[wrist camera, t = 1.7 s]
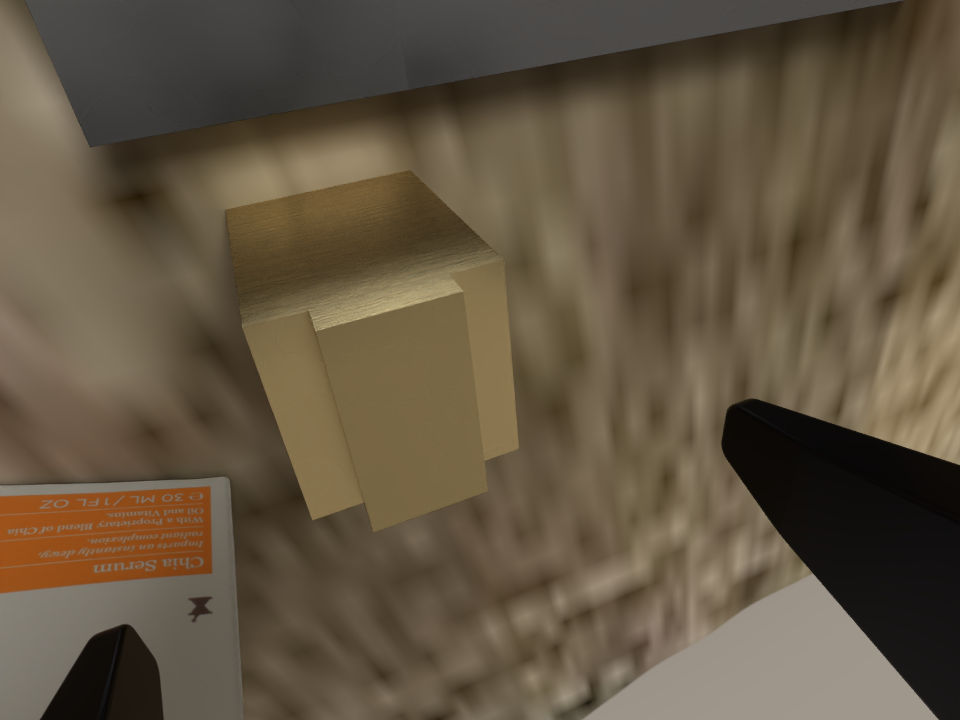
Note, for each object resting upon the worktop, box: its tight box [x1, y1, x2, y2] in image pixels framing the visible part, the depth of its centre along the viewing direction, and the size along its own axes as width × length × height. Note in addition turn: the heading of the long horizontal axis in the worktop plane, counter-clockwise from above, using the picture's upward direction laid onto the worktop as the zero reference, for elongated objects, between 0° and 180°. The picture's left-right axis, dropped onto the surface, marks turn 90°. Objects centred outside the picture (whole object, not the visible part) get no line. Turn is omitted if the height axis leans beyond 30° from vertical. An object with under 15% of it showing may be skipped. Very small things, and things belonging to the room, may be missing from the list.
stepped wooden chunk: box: [226, 170, 519, 532], centre depth 14 cm, size 4×5×7 cm
